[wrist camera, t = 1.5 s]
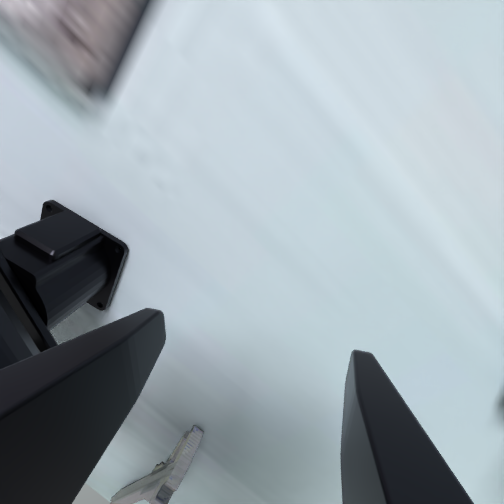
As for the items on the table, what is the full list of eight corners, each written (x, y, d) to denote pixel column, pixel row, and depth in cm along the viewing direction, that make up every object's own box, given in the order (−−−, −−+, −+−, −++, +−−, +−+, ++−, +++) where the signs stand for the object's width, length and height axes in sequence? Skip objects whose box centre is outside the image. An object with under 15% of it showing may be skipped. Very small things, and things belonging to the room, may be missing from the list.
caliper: (196, 419, 29) (161, 494, 24) (206, 427, 29) (173, 503, 24) (113, 495, 39) (74, 559, 34) (120, 500, 39) (83, 566, 34)
